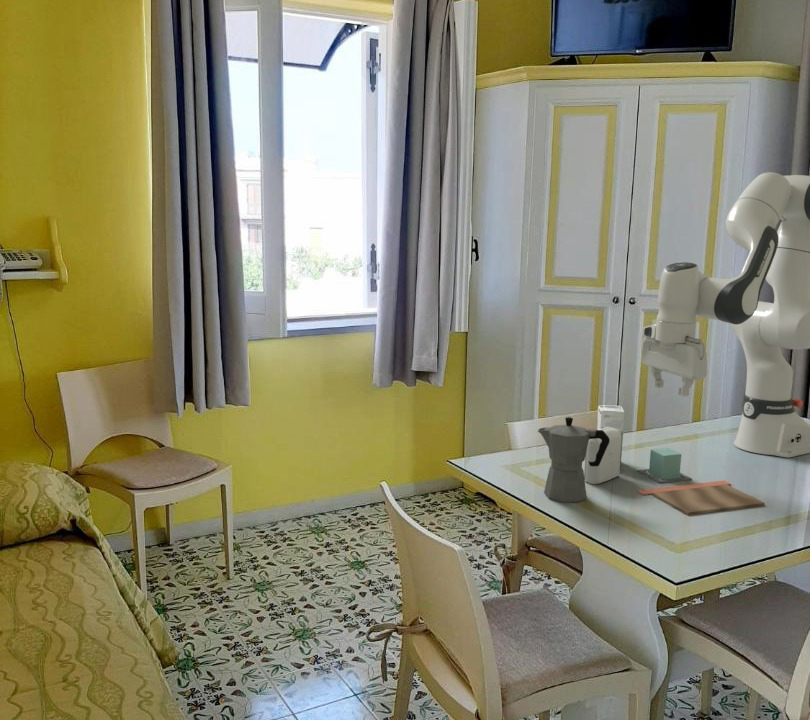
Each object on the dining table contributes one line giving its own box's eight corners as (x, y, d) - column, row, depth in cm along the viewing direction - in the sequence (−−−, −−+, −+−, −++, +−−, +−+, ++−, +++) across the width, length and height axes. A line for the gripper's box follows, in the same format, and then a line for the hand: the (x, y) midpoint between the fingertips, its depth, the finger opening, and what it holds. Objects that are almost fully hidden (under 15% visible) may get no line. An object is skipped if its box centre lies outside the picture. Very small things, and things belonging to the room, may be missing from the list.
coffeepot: (533, 499, 175) (536, 420, 171) (537, 485, 184) (540, 409, 180) (605, 507, 171) (610, 426, 168) (606, 492, 180) (610, 415, 177)
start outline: (668, 467, 198) (668, 466, 198) (691, 479, 189) (692, 478, 189) (637, 471, 195) (637, 470, 195) (659, 483, 186) (659, 482, 186)
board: (726, 487, 185) (726, 484, 185) (764, 505, 173) (764, 502, 173) (652, 495, 178) (652, 493, 178) (687, 515, 167) (687, 512, 167)
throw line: (724, 481, 188) (724, 480, 188) (731, 485, 186) (731, 483, 186) (636, 491, 181) (636, 490, 181) (642, 495, 179) (642, 494, 178)
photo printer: (596, 486, 184) (599, 434, 182) (581, 481, 187) (583, 430, 185) (621, 476, 191) (625, 426, 188) (606, 472, 194) (609, 423, 192)
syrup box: (617, 460, 203) (621, 404, 201) (621, 467, 198) (625, 410, 195) (594, 459, 204) (597, 403, 201) (597, 466, 198) (601, 409, 195)
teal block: (666, 471, 195) (668, 447, 194) (679, 478, 191) (681, 454, 189) (648, 473, 194) (650, 449, 192) (661, 480, 189) (663, 455, 188)
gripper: (716, 339, 177) (711, 400, 179) (660, 326, 196) (656, 381, 198) (693, 340, 175) (687, 402, 177) (638, 327, 194) (634, 383, 196)
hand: (670, 391), depth 188 cm, fingers open, 8 cm apart
